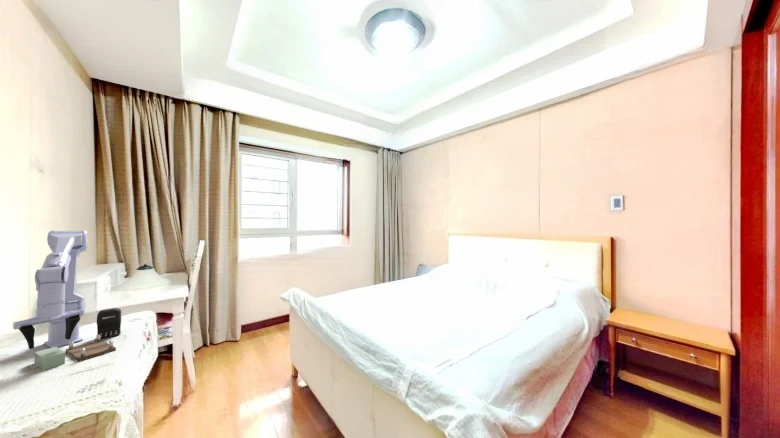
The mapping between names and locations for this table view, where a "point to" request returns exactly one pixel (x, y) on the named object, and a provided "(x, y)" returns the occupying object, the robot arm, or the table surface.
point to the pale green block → (49, 358)
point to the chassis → (90, 349)
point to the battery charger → (109, 322)
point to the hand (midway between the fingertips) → (50, 343)
